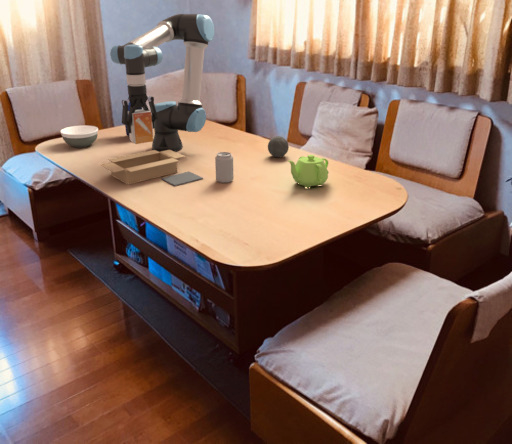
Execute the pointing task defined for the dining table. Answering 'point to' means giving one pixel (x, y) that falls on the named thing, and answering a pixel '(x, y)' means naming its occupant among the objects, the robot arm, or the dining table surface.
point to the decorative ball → (278, 146)
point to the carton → (143, 165)
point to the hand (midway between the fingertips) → (141, 138)
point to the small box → (142, 126)
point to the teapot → (310, 170)
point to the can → (224, 167)
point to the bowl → (79, 135)
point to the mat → (181, 178)
